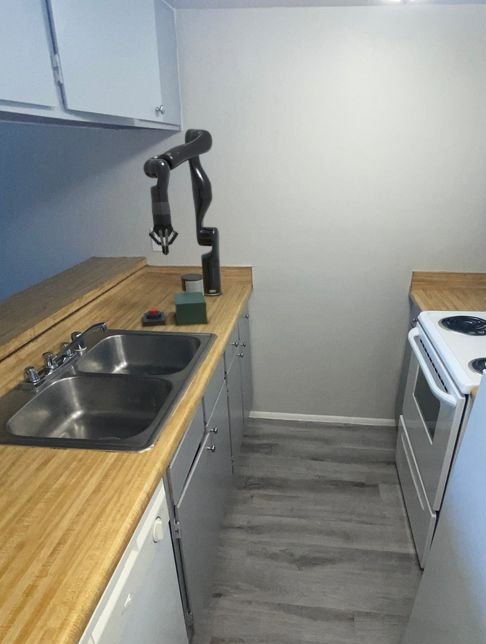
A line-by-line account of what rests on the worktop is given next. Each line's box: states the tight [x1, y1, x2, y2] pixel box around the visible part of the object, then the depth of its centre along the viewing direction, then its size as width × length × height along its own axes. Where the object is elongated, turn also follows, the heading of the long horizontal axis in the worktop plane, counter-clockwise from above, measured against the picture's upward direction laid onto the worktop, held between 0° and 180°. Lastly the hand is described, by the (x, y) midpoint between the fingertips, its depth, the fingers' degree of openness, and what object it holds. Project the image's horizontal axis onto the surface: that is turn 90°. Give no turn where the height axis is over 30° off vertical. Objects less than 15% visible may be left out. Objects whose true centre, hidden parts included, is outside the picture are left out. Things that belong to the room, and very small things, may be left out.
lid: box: [173, 292, 207, 306], centre depth 207 cm, size 16×13×1 cm
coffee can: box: [180, 273, 205, 297], centre depth 225 cm, size 10×10×14 cm
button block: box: [142, 310, 166, 328], centre depth 207 cm, size 12×9×4 cm
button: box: [148, 308, 159, 314], centre depth 205 cm, size 4×4×2 cm
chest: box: [173, 297, 208, 326], centre depth 209 cm, size 16×13×9 cm
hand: (165, 254), depth 205 cm, fingers closed
